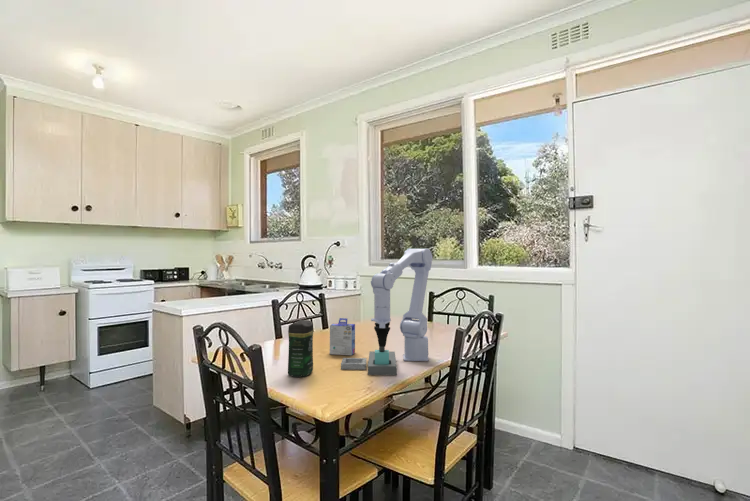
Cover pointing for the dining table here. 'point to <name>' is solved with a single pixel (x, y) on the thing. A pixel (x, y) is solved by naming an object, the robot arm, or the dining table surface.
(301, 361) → the coffee jar
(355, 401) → the dining table surface
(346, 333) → the ink cartridge box
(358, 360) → the grey rectangular frame
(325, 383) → the dining table surface
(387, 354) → the plug
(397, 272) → the robot arm
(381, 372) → the switch box
